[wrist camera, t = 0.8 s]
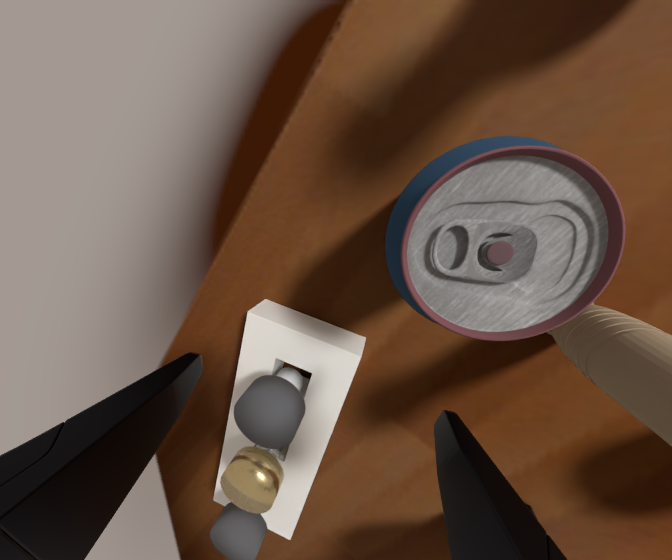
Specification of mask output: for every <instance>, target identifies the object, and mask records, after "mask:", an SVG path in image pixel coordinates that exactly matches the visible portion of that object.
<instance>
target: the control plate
mask: <svg viewBox="0 0 672 560" xmlns="http://www.w3.org/2000/svg"><path fill="white" fill-rule="evenodd" d="M365 340H366V338H365V337H363V336H360V335H358V334H355V333H352V332H350V331H347V330H345V329H342V328H339V327H337V326H334V325H332V324H329V323H327V322H324V321H321V320H319V319H316V318H314V317H311V316H308V315H306V314H303V313H301V312H298V311H295V310H293V309H290V308H288V307H285V306H283V305H280V304H277V303H275V302H272V301H270V300H267V299H265V300H263V301H262V302H261V303H259V304H258V305H256V306H255V307H253V308H252V309H251V310H249V311H248V313H247V318H246V324H245V329H244V335H243V340H242V346H241V351H240V357H239V362H238V368H237V373H236V379H235V384H234V389H233V395H232V400H231V406H230V411H229V417H228V422H227V428H226V433H225V439H224V444H223V450H222V455H221V460H220V466H219V471H218V477H217V482H216V488H215V493H214V499H213V500H214V501H216V502H218V503H220V504H222V505H223V506H226V505H227V504H228V503H230V502H231V501H230V500H229V499H228V498H227V497H226V495H225V494H224V492H223V490H222V488H221V484H220V479H221V476H222V474H223V473H224V471H225V470H226V468H227V466H228V465H229V463H230V462H231V460H232V459H233V457H234V456H235V454H236V453H237V451H238V450H239V449H241V448H243V447H247V446H252V447H256V445H257V444H255V443H253V442H252V441H250V440H249V439H248V438H247V437H246V436H244V434H243V433H242V432H241V431H240V429H239V428H238V426H237V424H236V422H235V419H234V406H235V404H236V402H237V401H238V399H239V398H240V397H241V396H242V395H243V393H244V392H245V391H246V390H247V388H248V387H249V386H250V385H251V384H252V382H253V381H254V380H255V379H257V378H259V377H261V376H264V375H274V376H276V375H277V374H278V373H279V371H280V370H281V369H283V365H284V362H287V363H289V364H291V365H294V366H296V367H299V368H301V369H303V370H306V371H308V372H310V373H312V375H311V378H310V379H308V378H306V377H303V376H302V378H303V386H302V388H301V389H300V393H301V394H302V396H303V398H304V401H305V407H306V409H305V414H304V417H303V419H302V421H301V423H300V426H299V428H298V430H297V432H296V434H295V437H294V439H293V440H292V442H291V443H290V444H289V445H287V446H286V447H284V448H283V450H282V452H281V454H280V456H279V458H278V462H279V463H280V465H281V466H282V469H283V472H284V479H283V482H282V484H281V487H280V489H279V491H278V494H277V496H276V498H275V501H274V503H273V505H272V508H271V509H270V510H269V511H267V512H265V513H261V515H262V517H263V518H264V520H265V522H266V524H267V528H268V529H269V530H271V531H273V532H275V533H277V534H279V535H281V536H283V537H285V538H287V539H289V540H290V539H291V537H292V534H293V531H294V529H295V526H296V524H297V521H298V519H299V516H300V513H301V511H302V508H303V506H304V503H305V501H306V498H307V495H308V493H309V490H310V488H311V485H312V483H313V480H314V477H315V475H316V472H317V470H318V467H319V465H320V462H321V459H322V457H323V454H324V452H325V449H326V446H327V444H328V441H329V439H330V436H331V434H332V431H333V428H334V426H335V423H336V421H337V418H338V416H339V413H340V410H341V408H342V405H343V403H344V400H345V398H346V395H347V392H348V390H349V387H350V385H351V382H352V380H353V377H354V374H355V372H356V369H357V367H358V364H359V361H360V359H361V356H362V352H363V348H364V344H365Z"/></svg>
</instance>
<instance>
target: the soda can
mask: <svg viewBox="0 0 672 560" xmlns="http://www.w3.org/2000/svg"><path fill="white" fill-rule="evenodd" d="M624 242H625V219H624V213H623V210H622V206H621V203H620V201H619V198H618V196H617V194H616V192H615V190H614V189H613V187H612V186H611V184H610V183H609V182H608V180H607V179H606V178H605V177H604V176H603V175H602V174H601V173H600V172H599V171H598V170H597V169H596V168H595V167H594V166H592V165H591V164H590V163H588V162H587V161H585V160H584V159H582V158H580V157H578V156H576V155H574V154H572V153H569V152H566V151H564V150H562V149H560V148H558V147H556V146H554V145H552V144H549V143H547V142H544V141H540V140H537V139H532V138H526V137H514V136H503V137H492V138H486V139H480V140H477V141H473V142H470V143H467V144H464V145H461V146H459V147H456V148H454V149H452V150H450V151H448V152H446V153H444V154H443V155H441V156H439V157H438V158H436V159H435V160H433V161H432V162H431V163H429V164H428V165H427V166H426V167H424V168H423V169H422V170H421V171H420V172H419V173H418V174H417V175H416V176H415V177H414V178H413V179H412V180H411V181H410V183H409V184H408V185H407V186H406V188H405V189H404V190H403V192H402V193H401V195H400V197H399V198H398V200H397V202H396V204H395V206H394V208H393V210H392V213H391V216H390V219H389V222H388V226H387V231H386V238H385V255H386V262H387V267H388V270H389V273H390V276H391V279H392V281H393V283H394V285H395V287H396V289H397V290H398V292H399V293H400V295H401V296H402V297H403V299H404V300H405V301H406V302H407V303H408V304H409V305H410V306H411V307H412V308H413V309H414V310H416V311H417V312H418V313H419V314H421V315H422V316H424V317H425V318H427V319H429V320H430V321H433V322H435V323H437V324H439V325H441V326H443V327H444V328H446V329H448V330H450V331H452V332H455V333H457V334H460V335H463V336H466V337H470V338H474V339H479V340H487V341H510V340H519V339H524V338H529V337H533V336H536V335H539V334H543V333H545V332H548V331H550V330H553V329H555V328H557V327H559V326H561V325H563V324H565V323H567V322H568V321H570V320H571V319H573V318H575V317H576V316H577V315H579V314H580V313H581V312H583V311H584V310H585V309H586V308H588V307H589V306H590V305H591V304H592V303H593V302H594V301H595V300H596V299H597V298H598V297H599V295H600V294H601V293H602V292H603V291H604V289H605V288H606V287H607V285H608V284H609V282H610V281H611V279H612V277H613V275H614V274H615V272H616V269H617V267H618V265H619V262H620V259H621V256H622V253H623V249H624Z"/></svg>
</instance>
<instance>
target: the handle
mask: <svg viewBox="0 0 672 560" xmlns="http://www.w3.org/2000/svg"><path fill="white" fill-rule="evenodd" d="M547 333H548V334H549V335H552V336H553V338H554V340H555V341H556V343H557V345H558V346H559V347H560V349H561V350H562V351H563V353H564V354H565V355H566V356H567V357H568V358H569V359H570V360H571V361H572V363H573V364H574V365H575V366H576V367H577V368H578V369H579V370H580V371H581V372H582V373H583V374H584V375H585V376H586V377H588V378H589V379H590V380H591V381H592V382H593V383H594V384H595V385H597V386H598V387H599V388H600V389H601V390H602V391H604V392H605V393H606V394H607V395H609V396H610V397H611V398H612V399H614V400H615V401H616V402H617V403H618V404H620V405H621V406H622V407H623V408H625V409H626V410H627V411H628V412H630V413H631V414H632V415H633V416H635V417H636V418H637V419H638V420H640V421H641V422H642V423H643V424H645V425H646V426H647V427H648V428H650V429H651V430H652V431H653V432H655V433H656V434H657V435H658V436H660V437H661V438H662V439H663V440H665V441H666V442H667V443H668V444H669V445H671V446H672V336H671V335H670V334H668V333H666V332H664V331H662V330H659V329H657V328H655V327H653V326H651V325H649V324H647V323H645V322H643V321H640V320H638V319H636V318H633V317H630V316H628V315H626V314H623V313H620V312H618V311H615V310H611V309H608V308H605V307H601V306H598V305H593V303H592V304H591V305H590V306H589V307H588V308H586V309H585V310H584V311H583V312H581V313H580V314H579V315H577V316H576V317H575V318H573V319H571V320H570V321H568V322H567V323H565V324H563V325H561V326H559V327H557V328H555V329H553V330H550V331H548V332H547Z"/></svg>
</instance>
